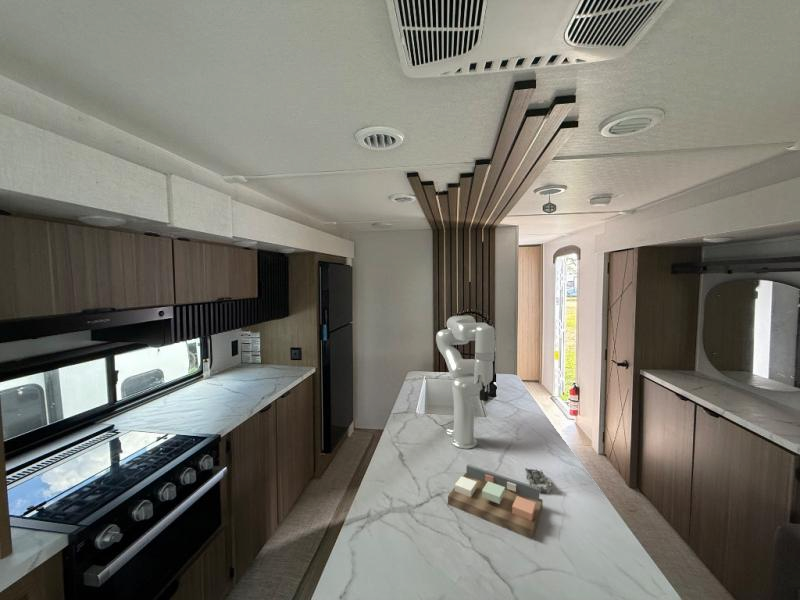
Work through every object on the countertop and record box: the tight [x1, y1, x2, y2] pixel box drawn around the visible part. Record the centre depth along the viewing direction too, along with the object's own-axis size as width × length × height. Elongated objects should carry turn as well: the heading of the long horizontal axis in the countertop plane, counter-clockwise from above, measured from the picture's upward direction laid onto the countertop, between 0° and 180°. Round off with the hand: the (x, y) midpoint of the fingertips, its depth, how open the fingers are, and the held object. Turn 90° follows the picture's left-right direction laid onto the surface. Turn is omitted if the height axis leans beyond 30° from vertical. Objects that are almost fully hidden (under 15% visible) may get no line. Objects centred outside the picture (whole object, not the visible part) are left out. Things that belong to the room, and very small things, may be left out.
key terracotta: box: [512, 496, 536, 521], centre depth 105 cm, size 6×6×2 cm
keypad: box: [447, 464, 544, 540], centre depth 112 cm, size 28×16×7 cm, turn 56°
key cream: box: [454, 475, 477, 497], centre depth 117 cm, size 6×6×2 cm
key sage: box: [482, 481, 505, 504], centre depth 111 cm, size 6×6×2 cm
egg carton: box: [525, 468, 553, 494], centre depth 124 cm, size 11×8×4 cm
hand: (484, 399), depth 133 cm, fingers closed
